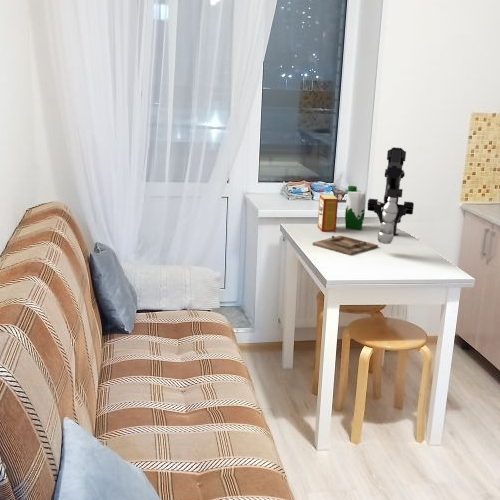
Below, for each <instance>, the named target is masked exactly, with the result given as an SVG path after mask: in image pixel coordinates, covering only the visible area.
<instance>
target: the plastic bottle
mask: <svg viewBox="0 0 500 500" xmlns="http://www.w3.org/2000/svg"><path fill="white" fill-rule="evenodd" d="M387 201H388V202H387V203H386V204H385V205H384V206H383V208H382V209H383V211H382V210H381V211H382V222H381V223H380V227H379V230H378V233H377V242H379V243H381V244H384V245H390V244H392V242H393V241H394V236H393V230H394V223H395V219H396V216H397V213H398V207H397V205H396V202H397V198H391V197H388V199H387Z"/></svg>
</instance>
